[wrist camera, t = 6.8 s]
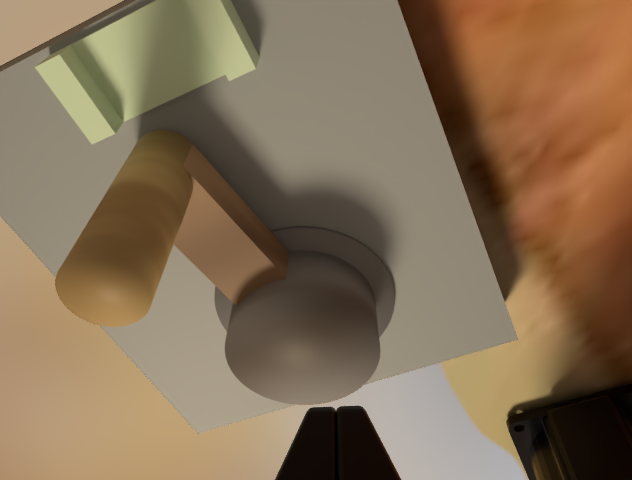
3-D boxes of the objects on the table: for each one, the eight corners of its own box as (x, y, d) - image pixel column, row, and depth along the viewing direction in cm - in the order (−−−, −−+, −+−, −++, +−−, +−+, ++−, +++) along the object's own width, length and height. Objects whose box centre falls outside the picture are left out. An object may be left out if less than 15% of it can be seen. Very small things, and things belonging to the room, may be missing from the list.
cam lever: (401, 321, 21) (425, 473, 16) (289, 375, 22) (279, 527, 17) (209, 87, 16) (157, 200, 11) (83, 178, 17) (-11, 312, 13)
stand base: (504, 304, 23) (525, 359, 21) (205, 397, 27) (193, 453, 24) (352, -121, 15) (358, -113, 13) (-52, 93, 18) (-110, 132, 16)
